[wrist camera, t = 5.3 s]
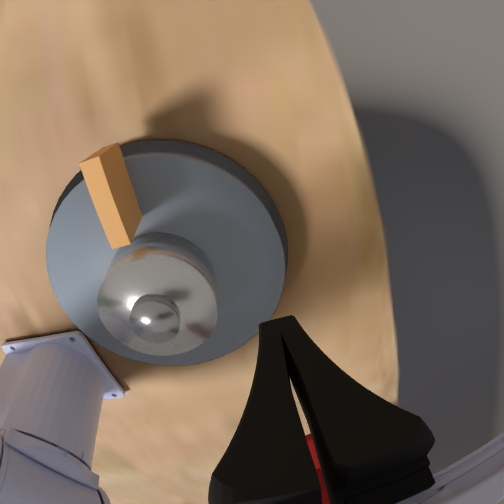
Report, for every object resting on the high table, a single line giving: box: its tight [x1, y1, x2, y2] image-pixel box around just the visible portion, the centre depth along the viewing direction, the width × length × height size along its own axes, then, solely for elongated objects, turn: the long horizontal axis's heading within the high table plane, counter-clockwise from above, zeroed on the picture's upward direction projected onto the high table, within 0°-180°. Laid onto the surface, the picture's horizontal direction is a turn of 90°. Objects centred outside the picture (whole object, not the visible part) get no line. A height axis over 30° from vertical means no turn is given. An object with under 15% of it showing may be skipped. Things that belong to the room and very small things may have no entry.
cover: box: [97, 232, 217, 356], centre depth 16 cm, size 6×6×4 cm
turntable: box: [46, 142, 285, 366], centre depth 16 cm, size 15×14×4 cm
